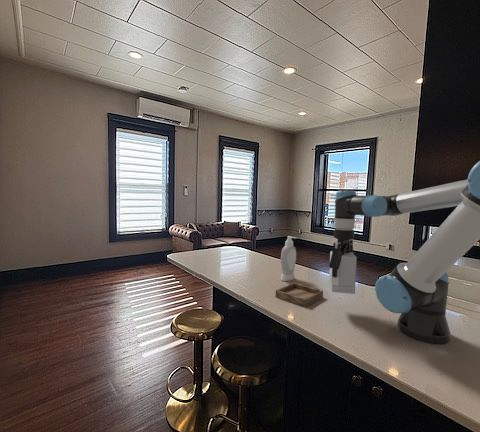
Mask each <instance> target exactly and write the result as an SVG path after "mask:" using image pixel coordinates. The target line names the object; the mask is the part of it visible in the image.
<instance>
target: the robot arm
mask: <svg viewBox="0 0 480 432" xmlns="http://www.w3.org/2000/svg"><path fill="white" fill-rule="evenodd" d="M467 175H468V176H467V179H464V180H458V181H453V182H448V183H444V184H439V185H435V186H430V187H426V188H422V189H417V190H411V191H407V192H402V193H397V194H393V195H387V196H386V195H376V194H375V195H373V194H372V195H371V194H370V195H357V192H356V191H355V190H337V192H335V193H336V194H335V200H334V208H335V209H334V220H333V223H334V230H333V238H335V239H337V242H333V244H332V245H333V246H332V250H331V251H332V256H331V261H330V260H329V264H328V265H329V266H328V267H329V269H330V268H332V282H331V284H332V285H336V286H339V273H340V269H339V265H340V262H341V257H342V256H343V254H345V253H350V252H352V253H353V254H354V255H355V253H354V246H353V245H354V239H355V230H354V229H355V228H356V227H355V223H356V218H355V217H356V216H362V217H371V218H374V217H375V218H376V217H377V218H378V217H382V216H385V217H386V216H387V217H388V216H389V217H390V216H391V217H395V216H396V217H397V216H401V215H403V214H409V213H410V214H411V213H417V212H423V211H424V212H425V211H430V210H431V211H432V210H437V209H438V210H440V209H445V208H446V209H447V208H453V207H455V209H453V211H452V212H451V213H450V214H449V215H448V216H447V218H446V219H445V220H444V221H443V222H442V223H441V224H440V226H439V227H437V229H436V230H435V231H434V232H433V233H432V234H431V236H429V238H428V239H426V241H425V242H424V243H423V244H422V246H421V247H419V249H418V250H417V251H416V252H415V253H414V254H413V256H412V257H411V258H410V259H409V260H408V261H407V262H399V263H398V264H397V265H396V267H394V269H393V270H391V272H390V273H389V274H388V275H387V274H385V275H382V276H381V277H379V278H378V279H377V280H376V281H375V285H374V290H375V295H376V298H377V300H378V302H379V303H380V305H382V307H383V308H384V309H386V310H387V311H389V312H390V313H394V314H399V316H398V320H397V328H398V329H399V331H400V332H402V333H403V334H405V335H406V336H409V337H411V338H413V339H414V340H418V341H422V342H425V343H427V344H429V343H430V344H439V345H441V344H447V343H449V342H450V341H451V330H450V327H449V323H448V320H447V317H446V312H447V311H446V310H447V300H448V292H449V285H450V282H449V279H450V278H449V274H448V273H447V272H448V270H450V268H451V267H452V266H454V265H455V264H456V263H457V262H458V261H459V260H460V259H461V258H462V257H463V256H464V255H465V254H466V253H468V251H470V249H471V248H473V246H474V245H475V244H476V243H477V242H479V241H480V160H479V161H477V162H476V164H474V165H473V167H471V169H470V171H469V173H468V174H467Z"/></svg>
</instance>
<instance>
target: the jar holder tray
mask: <svg viewBox="0 0 480 432" xmlns="http://www.w3.org/2000/svg"><path fill="white" fill-rule="evenodd" d="M275 297H276V298H278V299H282V300H283V301H287V302H291V303H292V304H296V305H299V306H301V307H304V308H306V307H308V306H310V305H312V304H314V303H315V302H318V301H319V300H321V299H322V298H323V297H324V290H321V289H317V288H314V287H311V286H306V285H303V284H300V283H297V282H293V283H290V284H288V285H284V286H283V287H281V288H277V289H276V290H275Z"/></svg>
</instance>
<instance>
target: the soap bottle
mask: <svg viewBox="0 0 480 432" xmlns="http://www.w3.org/2000/svg"><path fill="white" fill-rule="evenodd" d="M292 239H298V238H297V237H295V236H291V235H288V236H287V239H286V241H284V242H285V243H284V246H283V247H282V249H281V253H280V254H281V255H280V267H281V272H282V273H281V277H280V281H281V282H290V281H293V280H295V273H294V272H295V267H296V261H297V249H296V247H295V246H294V241H293V240H292Z"/></svg>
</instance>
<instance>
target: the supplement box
mask: <svg viewBox="0 0 480 432" xmlns="http://www.w3.org/2000/svg"><path fill="white" fill-rule="evenodd" d="M332 251H333V250H331V251H330V253H329V262H330V261H331V256H332ZM339 269H340V273H339V286H336V285H332V284H331V282H332V268H330V267H329V272H328V274H329V275H328V286H329V289H330V291H331V293H338V294H348V295H349V294H352V295H355V294H356V278H357V277H356V275H357V256H356V255H355V253H354V254H353V253H352V252H350V253H345V254H343V256H342V257H341V262H340V265H339Z"/></svg>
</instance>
